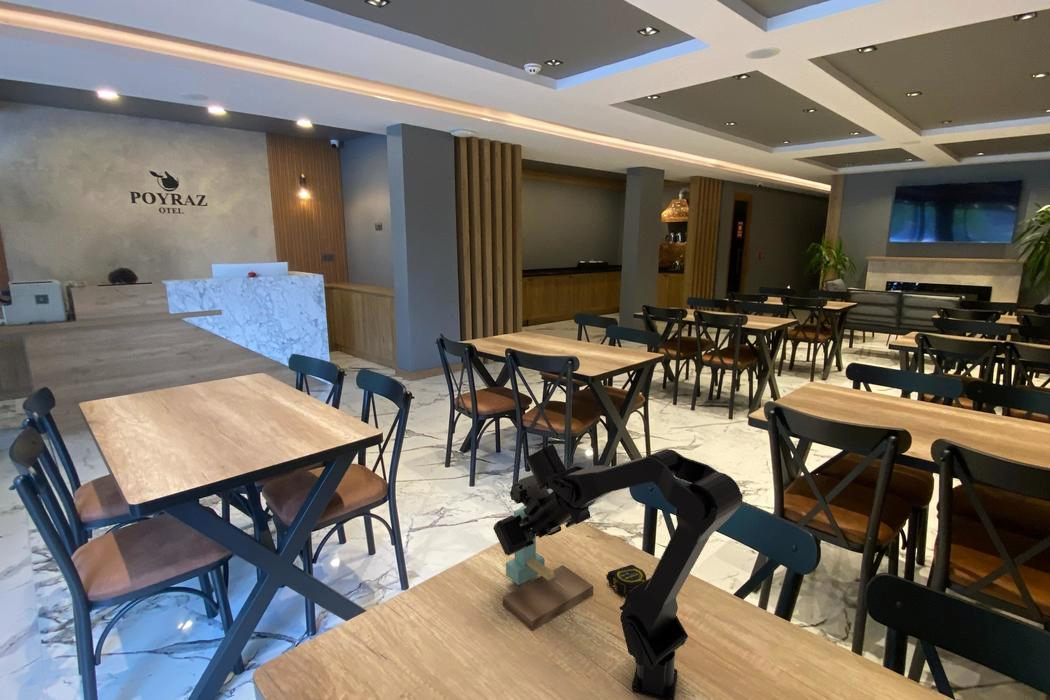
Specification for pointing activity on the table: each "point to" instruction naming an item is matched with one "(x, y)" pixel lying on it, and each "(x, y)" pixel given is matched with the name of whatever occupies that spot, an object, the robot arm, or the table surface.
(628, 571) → the tape measure
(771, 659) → the table surface
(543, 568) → the teal block tower
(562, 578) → the board
